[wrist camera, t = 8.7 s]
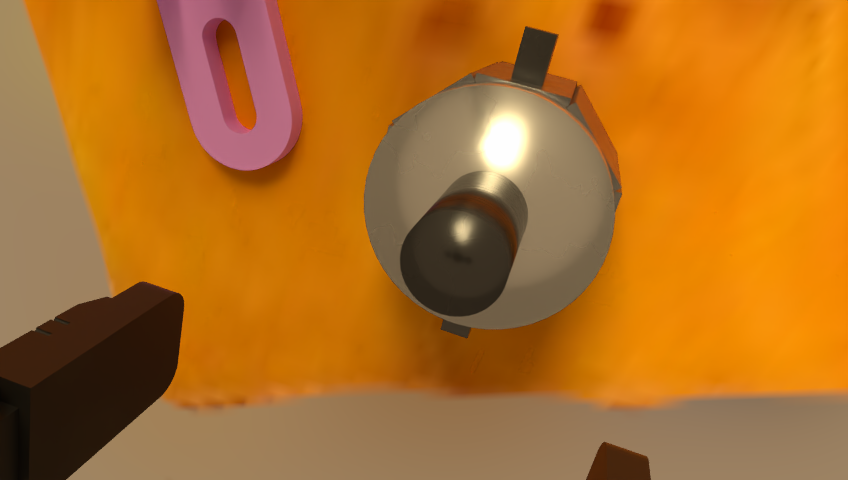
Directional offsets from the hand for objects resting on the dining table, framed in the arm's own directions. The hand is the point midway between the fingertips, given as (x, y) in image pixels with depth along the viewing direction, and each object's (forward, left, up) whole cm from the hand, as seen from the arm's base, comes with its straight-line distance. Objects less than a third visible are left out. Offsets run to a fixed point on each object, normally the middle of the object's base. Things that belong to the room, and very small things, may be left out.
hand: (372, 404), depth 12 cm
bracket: (-2, -15, -22) cm, 27 cm away
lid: (0, 0, -15) cm, 15 cm away
